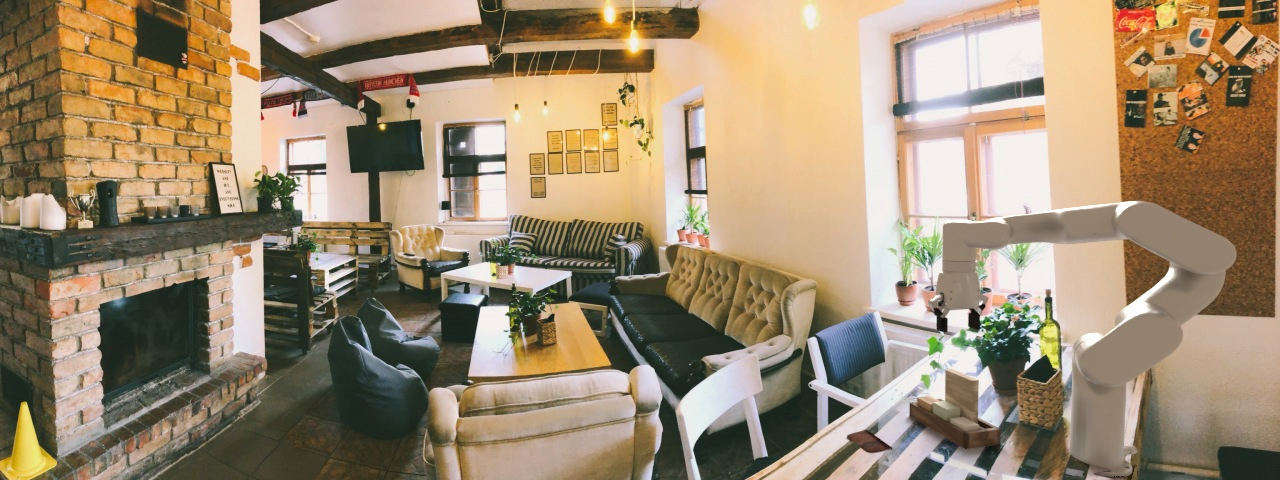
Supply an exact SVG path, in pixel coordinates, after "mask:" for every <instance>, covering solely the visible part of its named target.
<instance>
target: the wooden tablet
mask: <svg viewBox="0 0 1280 480" xmlns="http://www.w3.org/2000/svg"><path fill="white" fill-rule="evenodd" d="M846 438H847V439H848V440H849V441H851V442H853V443H856V444H858V446H859V448H861V449H862V450H864V451H866V452H869V453H875V452H880V451H885V450H890V449H891V450H892V449H893V447H892V446H890V445H889V444H887V442H885V441H883V440H882V439H881V438H880V437H878V436H877V435H875V434H874V433H872V432H871V431H870V430H868V429H865V430H860V431H856V432H853V433H850V434H847V435H846Z"/></svg>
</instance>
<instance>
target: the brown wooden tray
mask: <svg viewBox="0 0 1280 480" xmlns="http://www.w3.org/2000/svg"><path fill="white" fill-rule="evenodd" d="M935 399H936V400H938V401H945V399H944V400H943V399H942V398H935ZM908 414H909V417H911V418H912V419H913V420H915V421H917V422H919V423H921V424H922V425H924V426H926V427H927V428H929V429H930V430H932V431H934V432H935V433H937V434H938V435H941V436H942V437H944V438H946V439H948V440H949V441H951V442H952V443H955V444H956V445H958V446H959V447H961V448H962V449H964V450H971V449H977V448H978V449H979V448H984V447H990V446H997V445H1001V431H1002V430H1001V428H999V427H998V426H995V425H993V424H991V423H989V422H987V421H985V420H983V419H982V418H980V417H978V425H979V430H975V431H968V432H966V431H964V430H962V429H960V428H959V427H957V426H955V425H953V424H951V423H949V422H948V421H946V420H944V419H942V418H940V417H938V416H937V415H935V414H933V413H931V412H929V411H928V410H926V409H924V408H922V407H920V406H918V405H917V401H913V402H909V413H908ZM960 417H961V416H960Z"/></svg>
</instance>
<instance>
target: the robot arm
mask: <svg viewBox="0 0 1280 480" xmlns="http://www.w3.org/2000/svg"><path fill="white" fill-rule="evenodd" d="M1123 240H1129V241H1131V242H1133V243H1134V244H1136V245H1138V246H1140V247H1141V248H1144V249H1145V250H1147V251H1149V252H1151V253H1153V254H1154V255H1156V256H1158V257H1161V258H1162V259H1165V260H1166V261H1168V262H1169V269H1168V271H1166V272H1167V273H1166V274H1165V275H1164V277H1162V279H1160V280H1159V282H1158V283H1156V284H1155V285H1154V286H1152V288H1150V289H1149V290H1147V291H1146V292H1145V293H1143V294H1142V295H1141V296H1139V297H1138V298H1136V299H1135V300H1133V301H1132V302H1131V303H1130V304H1128V305H1127V306H1125V307H1124V308H1122V309H1121V310H1120V311H1118V312H1117V314H1116V316H1115V317H1114V325H1115V327H1114V328H1112V329H1111V330H1110V331H1109V332H1107V333H1103V332H1089V333H1085V334H1083V335H1080V337H1078V338H1077V339H1076V340H1075V341H1074V343H1073V345H1072V348H1071V395H1070V396H1071V399H1070V400H1071V401H1070V402H1071V403H1070V431H1069V432H1070V433H1069V436H1070V437H1069V454H1070V455H1071V457H1073V458H1074V459H1076V460H1078V461H1080V462H1082V463H1084V464H1087V465H1091V466H1093V467H1097V468H1104V469H1107V470H1104V471H1098V472H1093V474H1095V475H1099V476H1103V477H1112V478H1117V477H1116V476H1120V477H1119V478H1122V477H1121V476H1124V477H1128V476H1131V475H1132V473H1133V465H1132V464H1131V463H1130V462H1129V461H1128V460H1126V457H1128V456H1129V455H1134V454H1135V455H1136V454H1137V453H1138V448H1137V447H1136V446H1134V445H1132V444H1131V445H1129V444H1128V445H1125V433H1126V431H1125V427H1126V426H1125V425H1126V407H1127V384H1128V383H1130V382H1132V381H1133V380H1135V379H1136V378H1138V377H1140V376H1141V375H1142V374H1144V373H1146V372H1147V371H1148V370H1150V369H1151V368H1153V367H1155V366H1156V365H1157V364H1159V363H1160V362H1162V361H1163V360H1165V359H1166V358H1168V357H1170V356H1171V354H1173V353H1174V352H1175V351H1176V350H1178V348H1179V347H1180V346H1181V344H1182V342H1183V339H1184V330H1183V328H1182V326H1183V325H1185V323H1187V322H1188V321H1190V320H1191V319H1192V318H1194V317H1195V316H1196V315H1198V314H1199V313H1201V311H1203V310H1204V309H1205V308H1207V307H1208V306H1209V305H1210V304H1211V303H1212V302H1214V300H1215V299H1216V298H1218V296H1219V294H1220V292H1221V291H1222V289H1223V286H1224V283H1225V279H1226V275H1227V272H1226V271H1227V270H1228V269H1230V268H1231V267H1232V266H1233V265H1234V263H1235V262H1236V260H1237V250H1236V247H1235V245H1234V244H1233V243H1232V242H1231V241H1230V240H1229V239H1228V238H1226V237H1225V236H1223V235H1220V234H1219V233H1216V232H1214V231H1212V230H1210V229H1207V228H1205V227H1204V226H1201V225H1200V224H1196V223H1195V222H1193V221H1190V220H1189V219H1186V218H1184V217H1182V216H1180V215H1178V214H1177V213H1174V212H1173V211H1171V210H1168V209H1167V208H1165V207H1163V206H1161V205H1159V204H1156V203H1155V202H1151V201H1150V202H1148V201H1144V200H1129V201H1121V202H1113V203H1111V202H1110V203H1105V204H1097V205H1087V206H1086V205H1085V206H1079V207H1069V208H1062V209H1053V210H1049V211H1044V212H1042V211H1041V212H1038V213H1037V212H1035V213H1027V214H1019V215H1008V216H1002V217H993V218H989V219H987V220H984V221H972V220H966V219H965V220H964V219H963V220H962V219H959V220H947V221H945V222H944V223H943V225H942V255H941V256H942V259H941V261H942V265H941V267H942V269H941V271H939V272H938V273H939V274H938V276H937V282H936V286H935V287H936V288H935V296H934V297H933V298H930V299H929V300H928V301H927V304H928V306H929V309H930V311H931V312H932V314H933V315H934V316H936V330H937V331H939V332H941V333H948V324H949V323H948V321H949V319H948V317H947V315H949V312H950V311H961V310H969V312H968V313H967V314H968V316H967V317H968V319H967V320H968V321H967V325H968V327H969V328H970V329H974V330H980V329H981V315H983V311H984V310H985V309H986V305H987V304H988V301H989V296H987V295H984V294H982V293H981V292H980V291H981V290H980V279H979V275H978V271H976V269H977V266H978V265H979V263H978V262H977V249H982V250H983V249H984V250H990V251H993V250H994V251H996V250H1001V249H1004V248H1007V247H1008V246H1009V245H1019V244H1020V245H1021V244H1031V243H1032V244H1035V243H1047V244H1054V245H1055V244H1056V245H1078V244H1086V243H1089V244H1090V243H1097V242H1098V243H1099V242H1110V241H1123ZM1114 476H1115V477H1114ZM1124 477H1123V478H1124Z"/></svg>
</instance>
